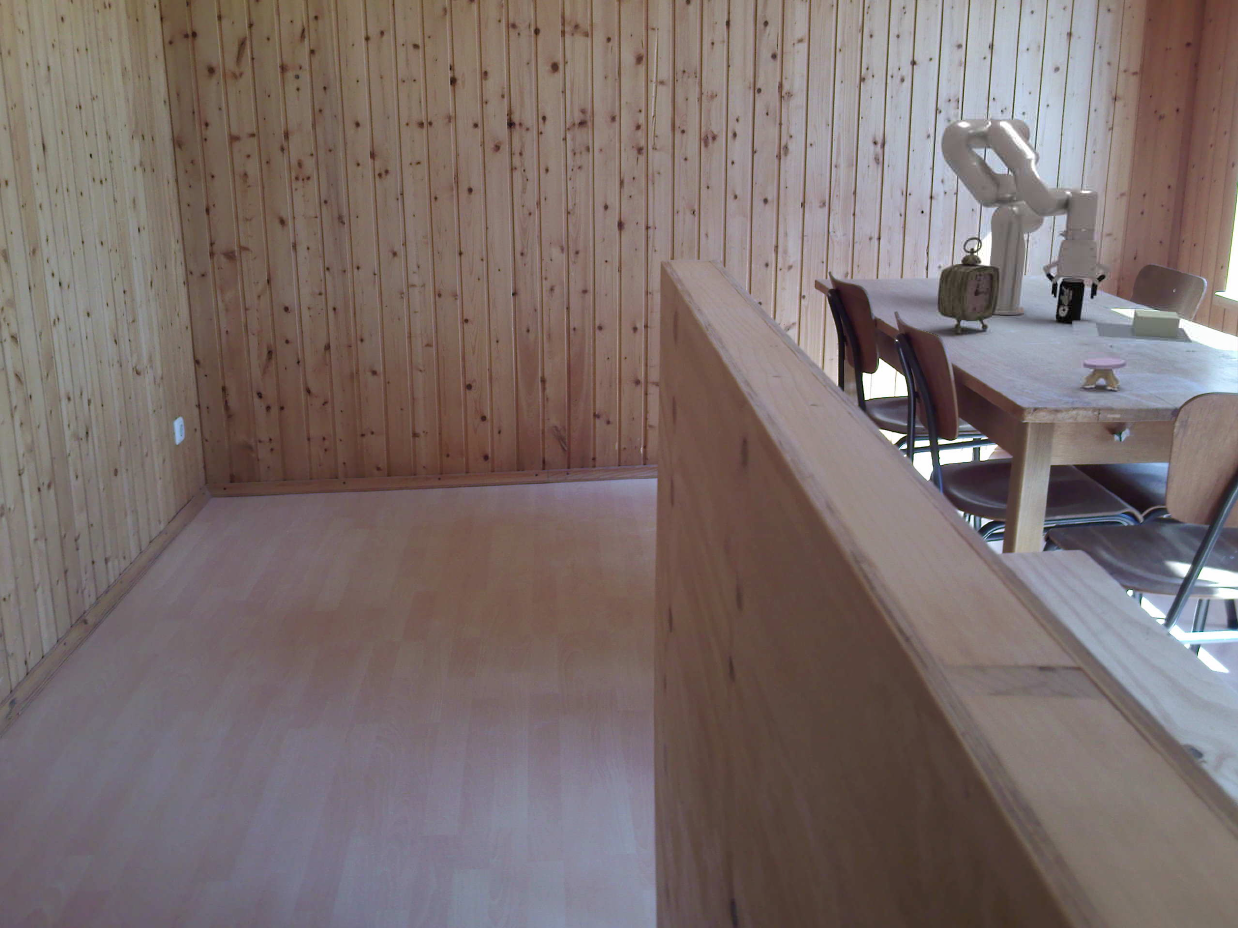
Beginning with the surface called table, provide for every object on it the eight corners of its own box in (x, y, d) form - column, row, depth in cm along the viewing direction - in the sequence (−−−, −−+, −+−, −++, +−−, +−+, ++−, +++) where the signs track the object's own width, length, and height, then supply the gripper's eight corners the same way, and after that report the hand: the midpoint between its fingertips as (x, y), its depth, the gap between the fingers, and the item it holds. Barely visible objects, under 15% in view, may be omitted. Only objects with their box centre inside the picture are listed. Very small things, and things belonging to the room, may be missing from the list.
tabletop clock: (958, 336, 296) (967, 240, 289) (931, 330, 304) (940, 237, 296) (994, 330, 304) (1004, 237, 296) (967, 325, 311) (977, 234, 304)
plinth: (1135, 335, 294) (1137, 316, 293) (1132, 328, 303) (1134, 309, 302) (1177, 337, 291) (1180, 318, 290) (1172, 330, 300) (1175, 312, 299)
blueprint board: (1098, 339, 293) (1099, 336, 293) (1094, 326, 311) (1095, 322, 311) (1191, 346, 286) (1192, 342, 286) (1182, 331, 304) (1182, 328, 304)
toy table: (1110, 381, 250) (1114, 356, 248) (1134, 391, 242) (1138, 365, 240) (1069, 382, 249) (1073, 357, 247) (1092, 392, 240) (1095, 366, 238)
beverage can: (1081, 324, 313) (1087, 281, 309) (1057, 323, 314) (1062, 280, 311) (1077, 320, 319) (1083, 278, 316) (1053, 319, 321) (1058, 277, 317)
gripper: (1046, 236, 309) (1040, 298, 314) (1114, 237, 303) (1107, 300, 308) (1045, 234, 315) (1040, 295, 320) (1112, 235, 310) (1106, 297, 315)
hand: (1073, 297), depth 314 cm, fingers open, 9 cm apart
